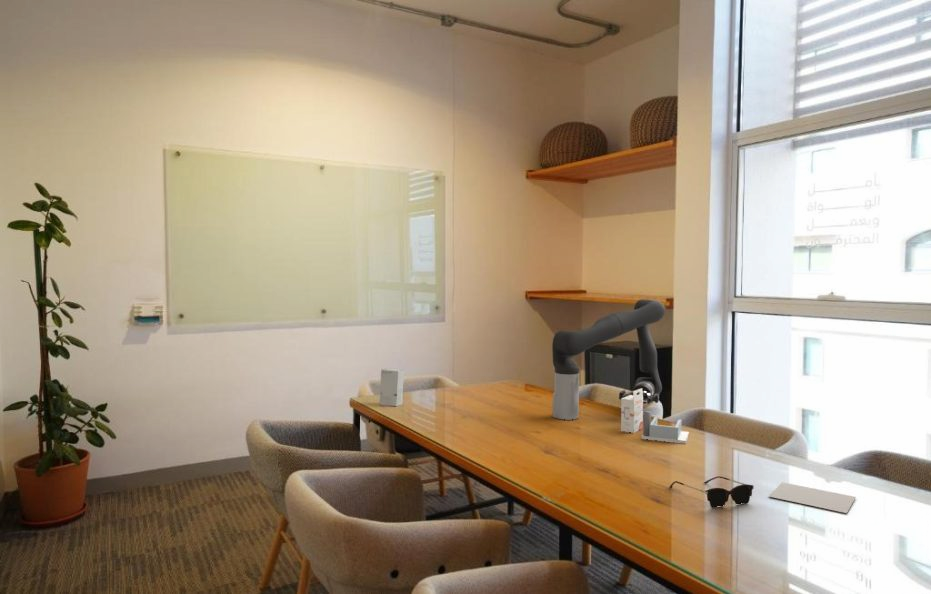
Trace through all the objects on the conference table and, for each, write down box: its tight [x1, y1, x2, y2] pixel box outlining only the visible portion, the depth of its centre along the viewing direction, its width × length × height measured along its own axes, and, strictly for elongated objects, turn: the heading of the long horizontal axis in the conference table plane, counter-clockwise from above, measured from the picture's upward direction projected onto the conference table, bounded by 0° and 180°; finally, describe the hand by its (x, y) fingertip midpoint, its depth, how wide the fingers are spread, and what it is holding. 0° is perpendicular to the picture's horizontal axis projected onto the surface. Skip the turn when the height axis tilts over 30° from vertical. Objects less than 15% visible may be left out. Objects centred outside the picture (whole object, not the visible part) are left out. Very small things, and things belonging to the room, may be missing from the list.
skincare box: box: [379, 367, 405, 407], centre depth 262 cm, size 8×6×15 cm
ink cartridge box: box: [620, 388, 644, 434], centre depth 222 cm, size 9×5×15 cm, turn 143°
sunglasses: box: [669, 475, 755, 509], centre depth 157 cm, size 14×16×5 cm
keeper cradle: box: [641, 410, 690, 445], centre depth 213 cm, size 14×13×9 cm
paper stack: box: [768, 482, 856, 514], centre depth 156 cm, size 23×25×1 cm
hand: (636, 399), depth 231 cm, fingers open, 8 cm apart
